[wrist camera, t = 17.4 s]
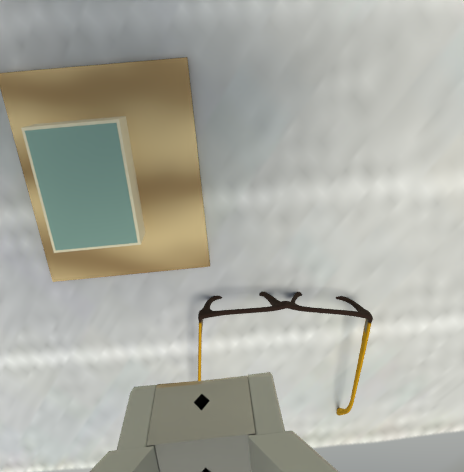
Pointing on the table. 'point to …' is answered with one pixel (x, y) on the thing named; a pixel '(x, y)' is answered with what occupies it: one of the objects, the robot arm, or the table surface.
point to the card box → (86, 183)
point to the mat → (143, 151)
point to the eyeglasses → (291, 305)
